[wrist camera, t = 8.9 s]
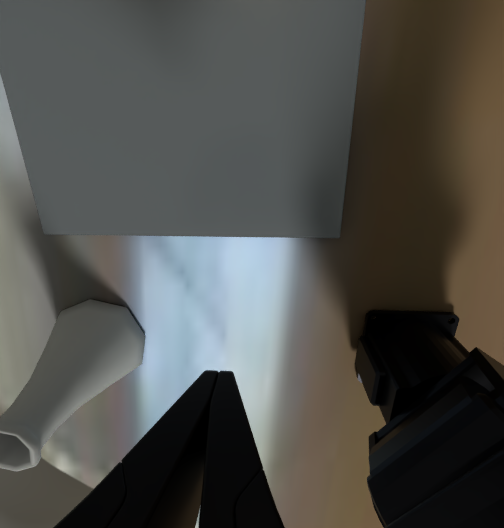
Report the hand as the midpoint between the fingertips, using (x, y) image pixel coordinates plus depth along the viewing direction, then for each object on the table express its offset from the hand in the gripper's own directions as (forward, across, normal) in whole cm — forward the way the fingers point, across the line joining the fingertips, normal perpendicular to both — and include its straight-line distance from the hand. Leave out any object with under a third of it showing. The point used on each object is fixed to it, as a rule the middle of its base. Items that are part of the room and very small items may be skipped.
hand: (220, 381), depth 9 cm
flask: (+13, +12, +8) cm, 20 cm away
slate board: (+13, +4, -11) cm, 17 cm away
